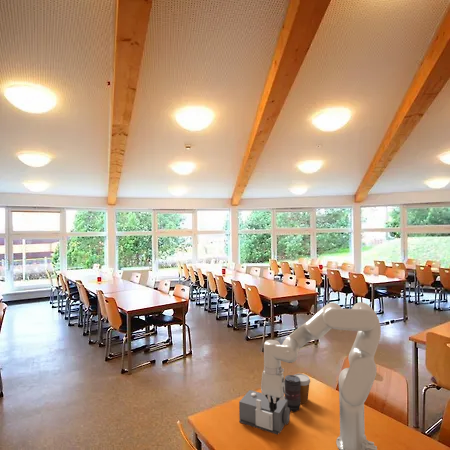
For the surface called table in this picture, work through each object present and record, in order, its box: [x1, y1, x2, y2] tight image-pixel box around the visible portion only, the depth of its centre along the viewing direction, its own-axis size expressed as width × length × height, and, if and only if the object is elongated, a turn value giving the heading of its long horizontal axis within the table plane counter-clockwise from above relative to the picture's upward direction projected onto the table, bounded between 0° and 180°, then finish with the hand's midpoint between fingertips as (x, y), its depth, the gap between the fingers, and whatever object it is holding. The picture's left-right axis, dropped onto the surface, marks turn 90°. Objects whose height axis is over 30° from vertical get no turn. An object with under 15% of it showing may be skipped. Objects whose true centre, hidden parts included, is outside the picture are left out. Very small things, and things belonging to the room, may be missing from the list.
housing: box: [238, 389, 291, 436], centre depth 145 cm, size 22×13×10 cm, turn 61°
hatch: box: [255, 399, 273, 430], centre depth 139 cm, size 8×1×12 cm, turn 61°
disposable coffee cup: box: [293, 373, 311, 404], centre depth 162 cm, size 10×10×12 cm
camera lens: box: [284, 374, 301, 412], centre depth 156 cm, size 8×8×15 cm
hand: (273, 410), depth 137 cm, fingers closed
